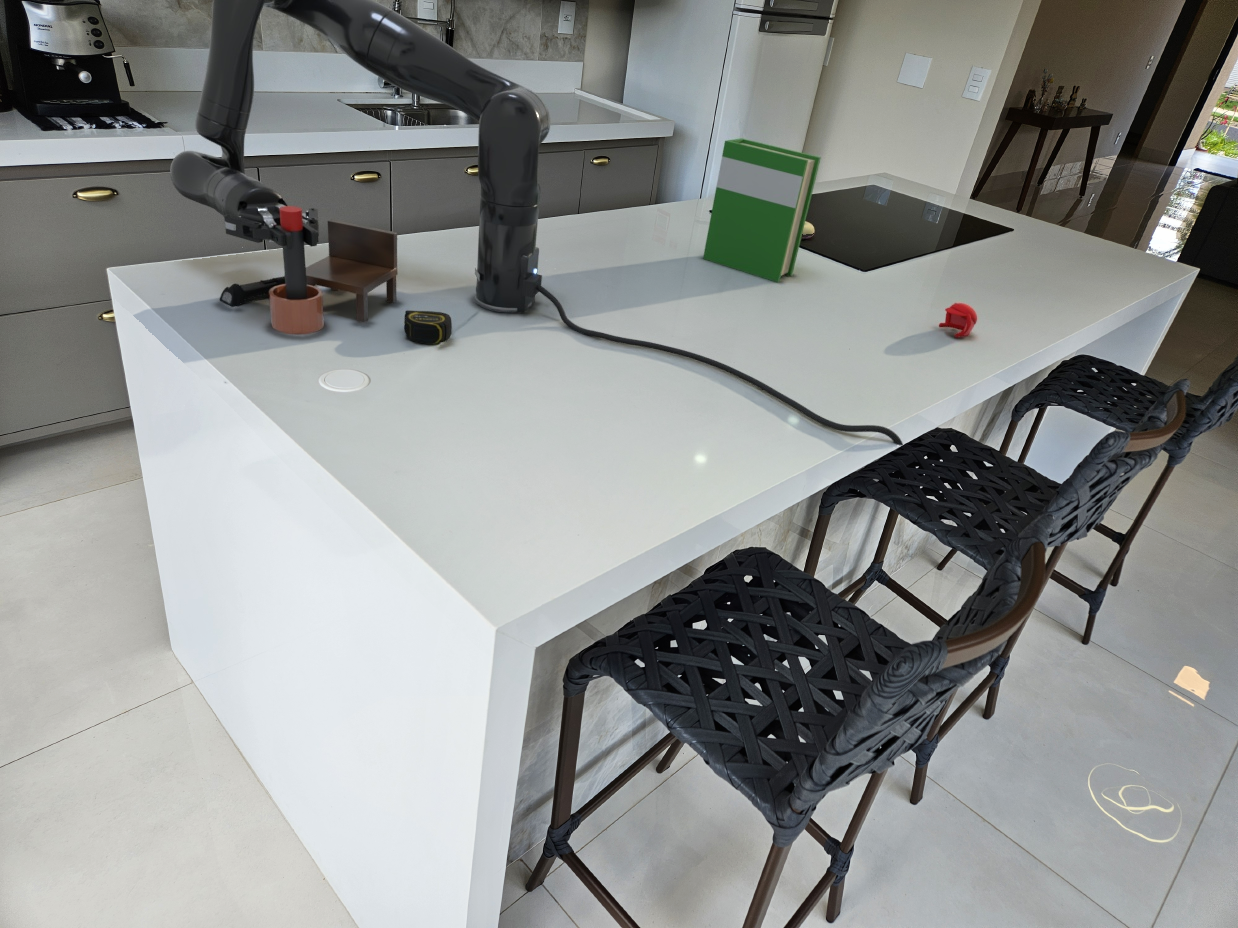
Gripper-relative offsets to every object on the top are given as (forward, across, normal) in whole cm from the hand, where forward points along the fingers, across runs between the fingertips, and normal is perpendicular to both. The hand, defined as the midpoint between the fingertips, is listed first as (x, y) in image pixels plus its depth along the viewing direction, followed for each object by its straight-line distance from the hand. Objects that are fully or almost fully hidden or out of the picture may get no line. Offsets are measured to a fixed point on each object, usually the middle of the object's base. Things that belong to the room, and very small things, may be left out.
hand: (301, 240), depth 113 cm
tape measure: (+8, +14, +14) cm, 22 cm away
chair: (-8, +10, +14) cm, 19 cm away
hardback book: (+2, +95, +14) cm, 96 cm away
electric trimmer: (-16, +1, +14) cm, 21 cm away
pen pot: (-3, 0, +14) cm, 14 cm away
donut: (-11, +128, +14) cm, 130 cm away
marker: (-3, 0, +10) cm, 11 cm away
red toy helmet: (+46, +105, +15) cm, 115 cm away
